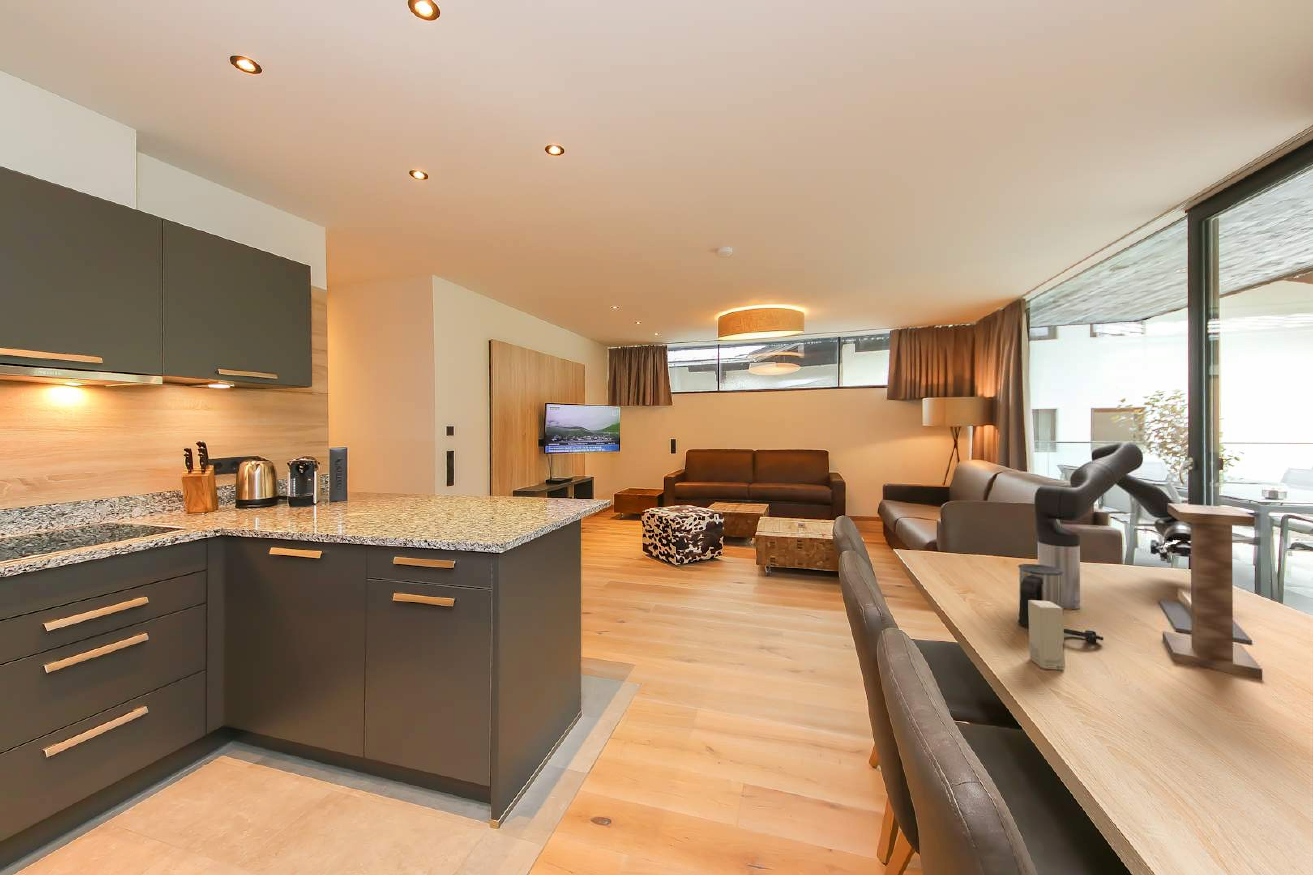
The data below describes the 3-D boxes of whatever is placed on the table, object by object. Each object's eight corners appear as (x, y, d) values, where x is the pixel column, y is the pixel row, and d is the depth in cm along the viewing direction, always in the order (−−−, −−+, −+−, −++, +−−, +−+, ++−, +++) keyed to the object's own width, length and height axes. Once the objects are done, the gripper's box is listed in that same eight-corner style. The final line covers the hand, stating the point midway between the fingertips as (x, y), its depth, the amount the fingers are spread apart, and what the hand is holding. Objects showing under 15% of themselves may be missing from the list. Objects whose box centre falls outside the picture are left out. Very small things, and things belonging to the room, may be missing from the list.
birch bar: (1197, 624, 120) (1197, 612, 120) (1178, 598, 138) (1177, 587, 138) (1216, 627, 118) (1216, 615, 118) (1193, 600, 137) (1193, 589, 137)
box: (1066, 671, 100) (1065, 608, 100) (1041, 669, 101) (1041, 607, 101) (1050, 659, 105) (1050, 600, 105) (1027, 657, 106) (1027, 599, 106)
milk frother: (1018, 616, 129) (1017, 561, 129) (1098, 630, 120) (1097, 570, 119) (1017, 635, 118) (1017, 574, 118) (1105, 652, 108) (1105, 585, 108)
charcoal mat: (1175, 631, 118) (1175, 627, 118) (1158, 601, 138) (1158, 598, 138) (1252, 643, 111) (1252, 640, 111) (1221, 610, 131) (1221, 607, 131)
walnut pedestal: (1174, 662, 103) (1173, 511, 102) (1162, 638, 114) (1161, 502, 114) (1263, 680, 95) (1262, 517, 95) (1240, 652, 107) (1239, 507, 106)
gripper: (1148, 526, 153) (1150, 542, 141) (1216, 530, 143) (1225, 547, 131) (1149, 549, 153) (1152, 567, 142) (1218, 554, 143) (1227, 574, 132)
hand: (1187, 557), depth 136 cm, fingers open, 8 cm apart
